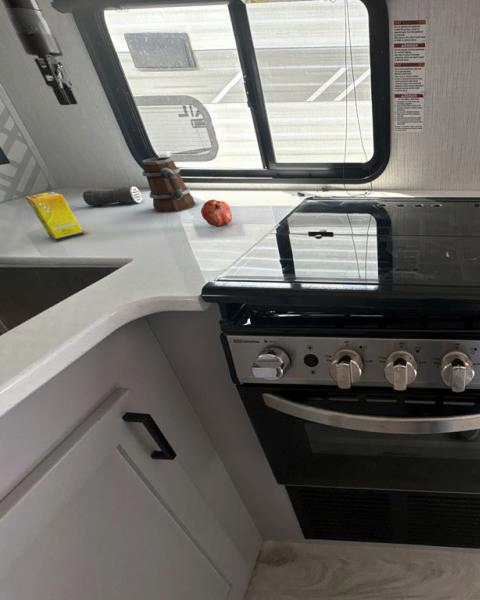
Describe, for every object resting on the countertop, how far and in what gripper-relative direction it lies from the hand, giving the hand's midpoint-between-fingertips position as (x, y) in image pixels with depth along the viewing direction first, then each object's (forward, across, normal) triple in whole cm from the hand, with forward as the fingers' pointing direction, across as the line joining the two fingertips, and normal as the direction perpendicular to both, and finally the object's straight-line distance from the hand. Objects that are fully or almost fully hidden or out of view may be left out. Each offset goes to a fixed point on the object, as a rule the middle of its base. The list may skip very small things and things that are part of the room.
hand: (69, 104), depth 95 cm
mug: (+30, +12, +18) cm, 37 cm away
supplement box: (+30, +25, -8) cm, 40 cm away
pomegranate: (+30, +38, +29) cm, 57 cm away
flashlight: (+30, -6, -1) cm, 31 cm away
